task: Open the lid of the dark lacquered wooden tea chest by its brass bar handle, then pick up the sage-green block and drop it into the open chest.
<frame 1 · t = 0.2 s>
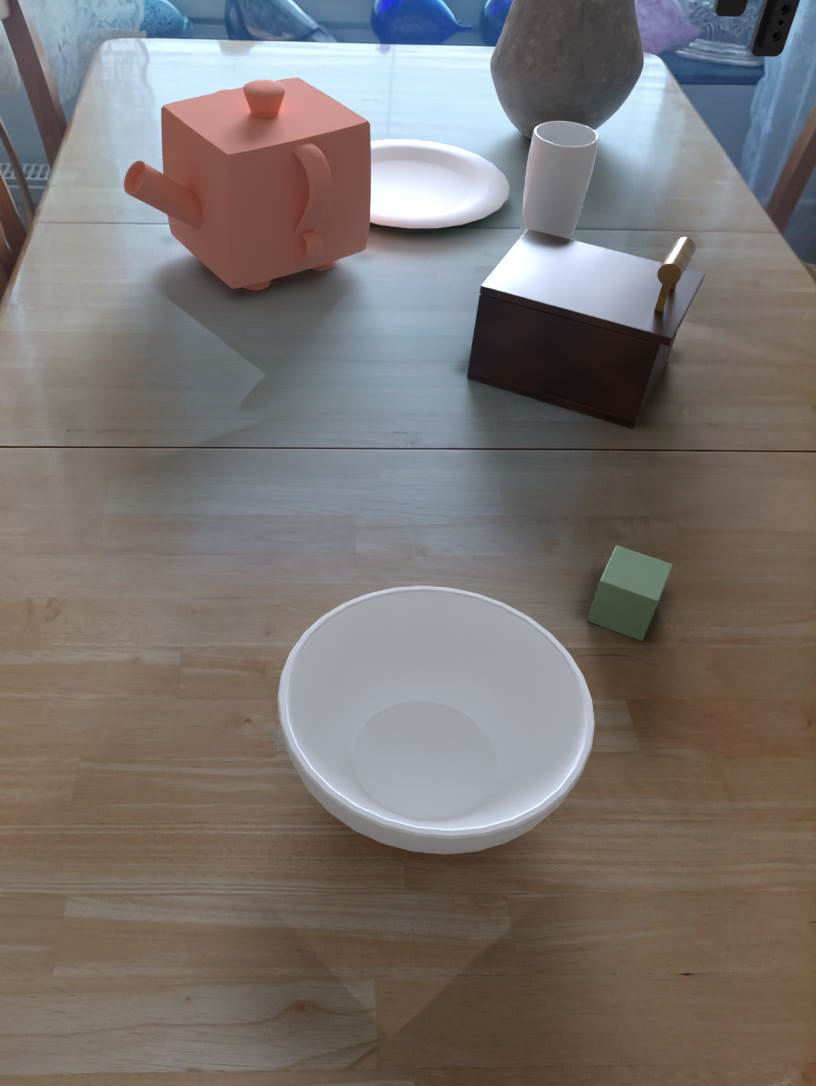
hand: (744, 33, 70), 31 cm above the table, tool pointing down, fingers open, 8 cm apart
tea chest: (568, 370, 97), on the table
plate: (408, 194, 122), on the table
vase: (552, 136, 135), on the table
teapot: (241, 265, 109), on the table
bowl: (424, 764, 65), on the table
drinking glass: (538, 274, 110), on the table
block: (621, 612, 75), on the table
tea lid: (599, 260, 88), point 12 cm above the table, hinge at 0.0°
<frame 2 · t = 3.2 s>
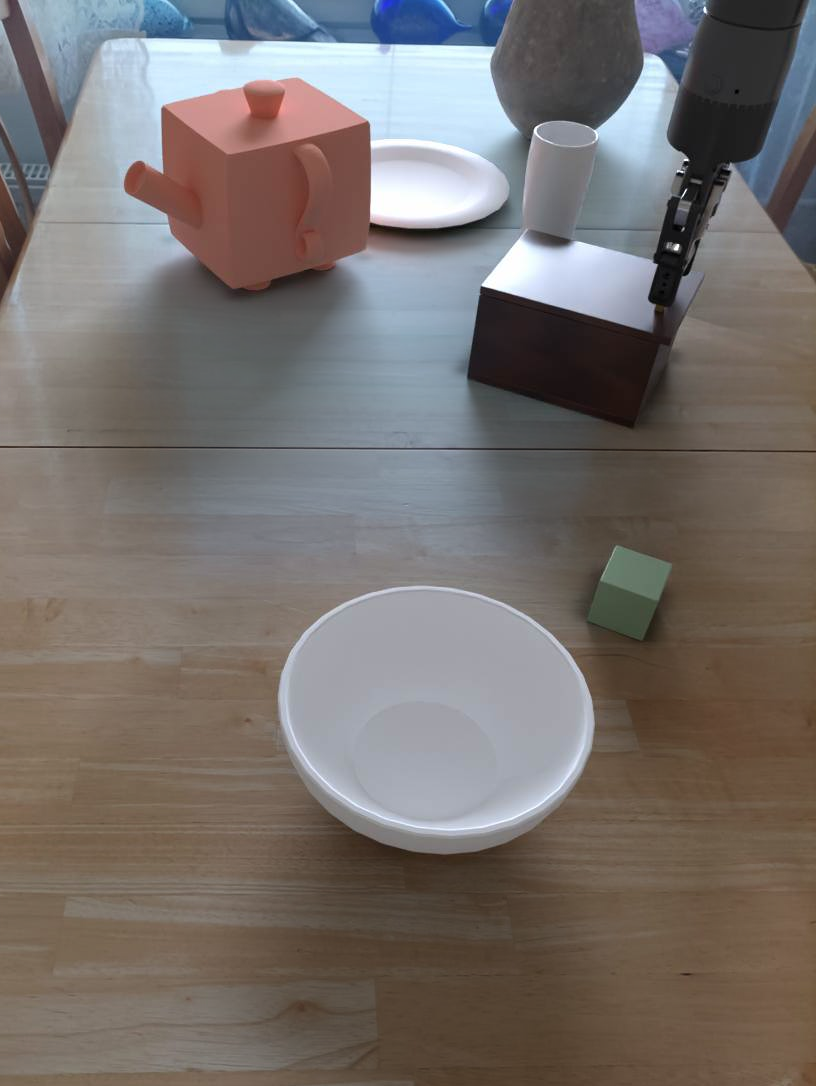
hand: (668, 286, 87), 11 cm above the table, tool pointing down, fingers closed on tea lid, 5 cm apart
tea lid: (599, 260, 88), point 12 cm above the table, hinge at 0.0°, touching gripper
everything else where it was.
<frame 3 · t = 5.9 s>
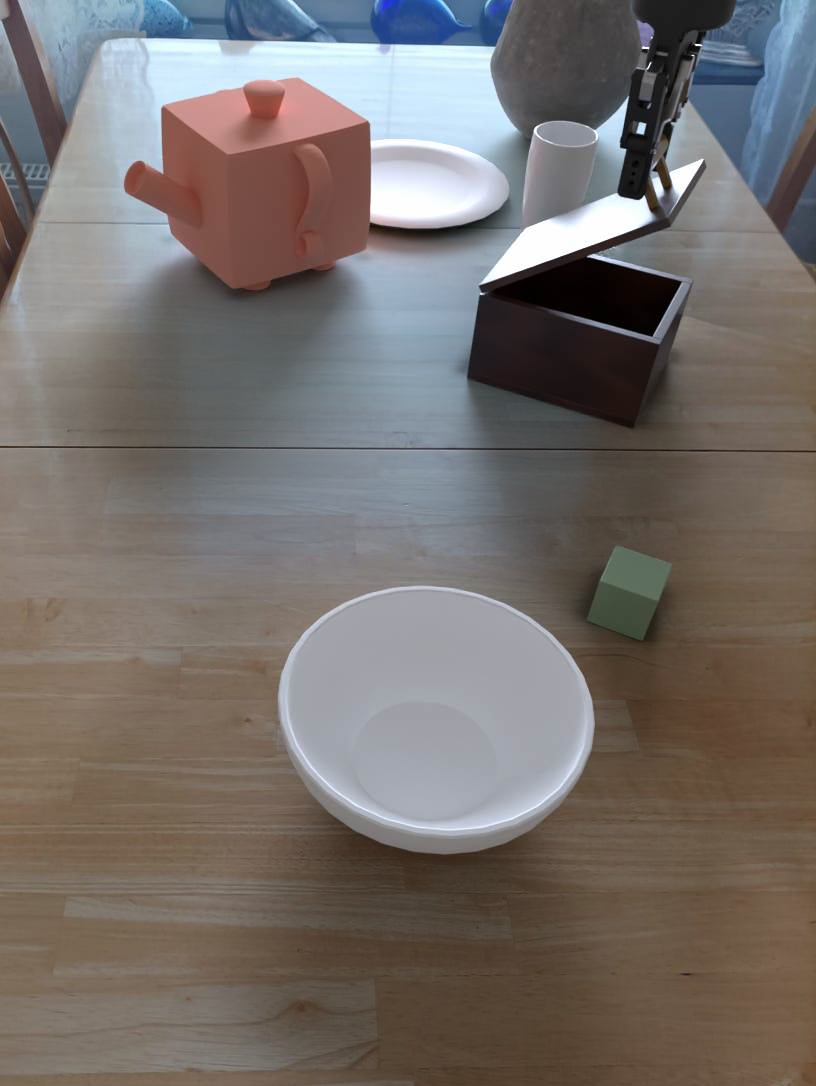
hand: (640, 181, 82), 19 cm above the table, tool pointing down, fingers closed on tea lid, 5 cm apart
tea lid: (581, 203, 85), point 16 cm above the table, hinge at 33.9°, touching gripper
everything else where it was.
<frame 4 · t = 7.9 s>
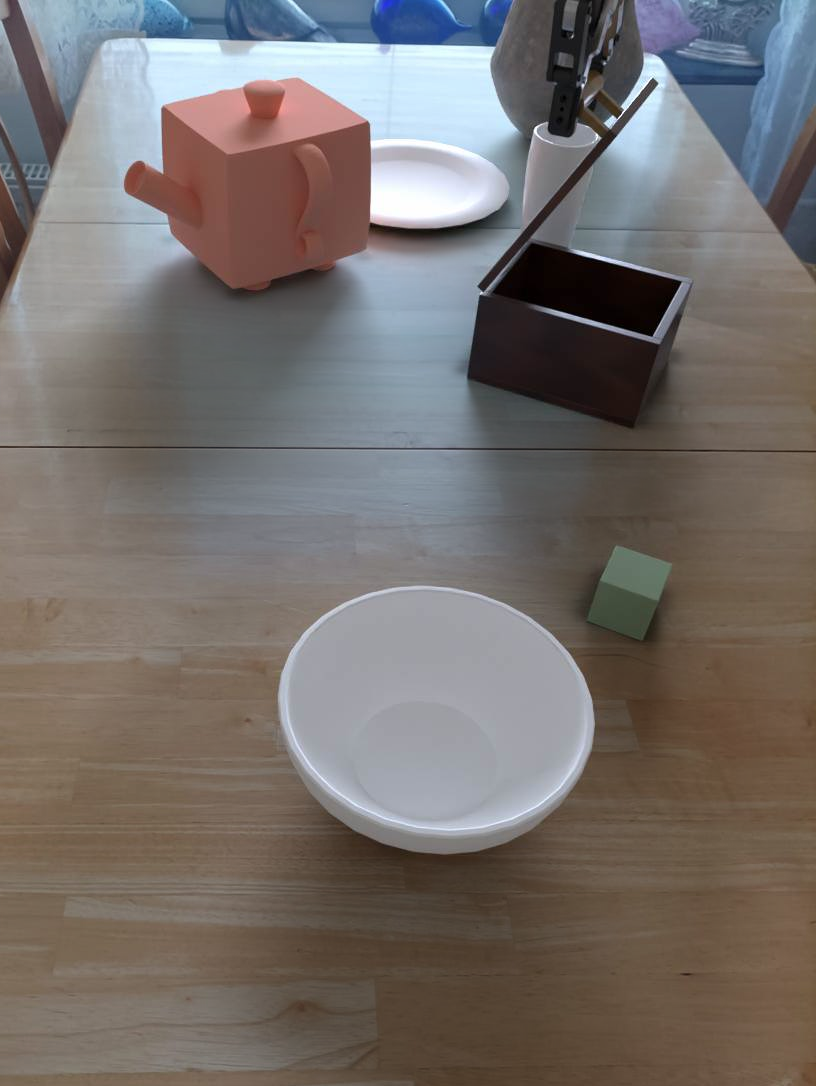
hand: (572, 120, 81), 23 cm above the table, tool pointing down, fingers closed on tea lid, 5 cm apart
tea lid: (545, 170, 85), point 18 cm above the table, hinge at 60.6°, touching gripper
everything else where it was.
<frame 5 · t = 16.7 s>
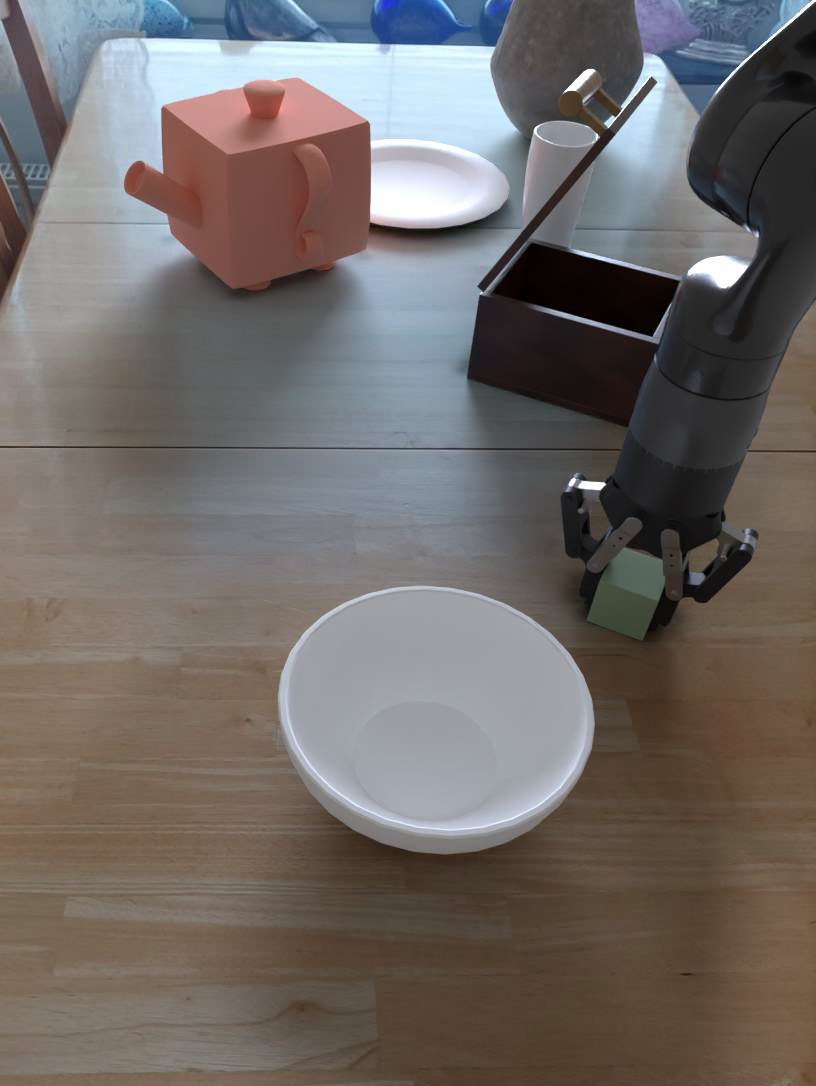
hand: (623, 610, 75), 0 cm above the table, tool pointing down, fingers closed on block, 4 cm apart
block: (621, 612, 75), on the table, touching gripper
tea lid: (545, 170, 85), point 18 cm above the table, hinge at 61.1°
everything else where it was.
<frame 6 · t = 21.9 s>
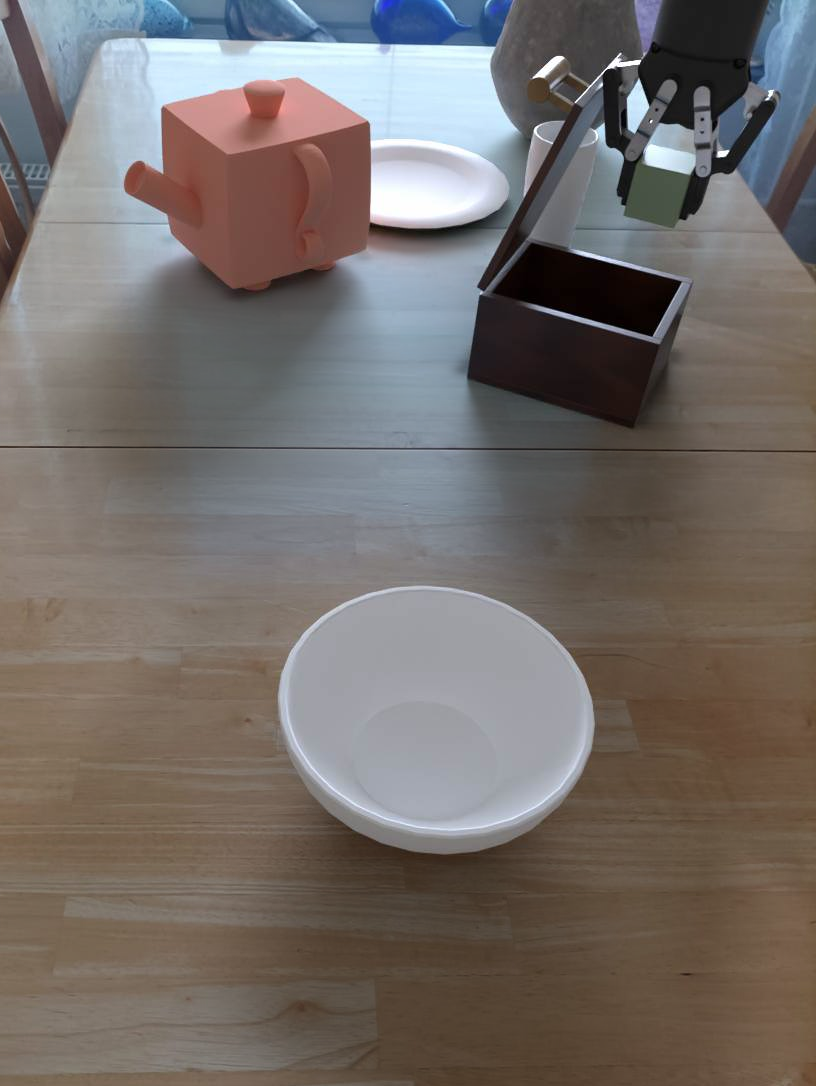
hand: (656, 208, 83), 17 cm above the table, tool pointing down, fingers closed on block, 4 cm apart
block: (654, 212, 83), point 17 cm above the table, touching gripper
tea lid: (528, 163, 85), point 18 cm above the table, hinge at 71.5°
everything else where it was.
when the fingers open (13 cm above the table, at t = 23.4 s): block drops 12 cm, resting on tea chest.
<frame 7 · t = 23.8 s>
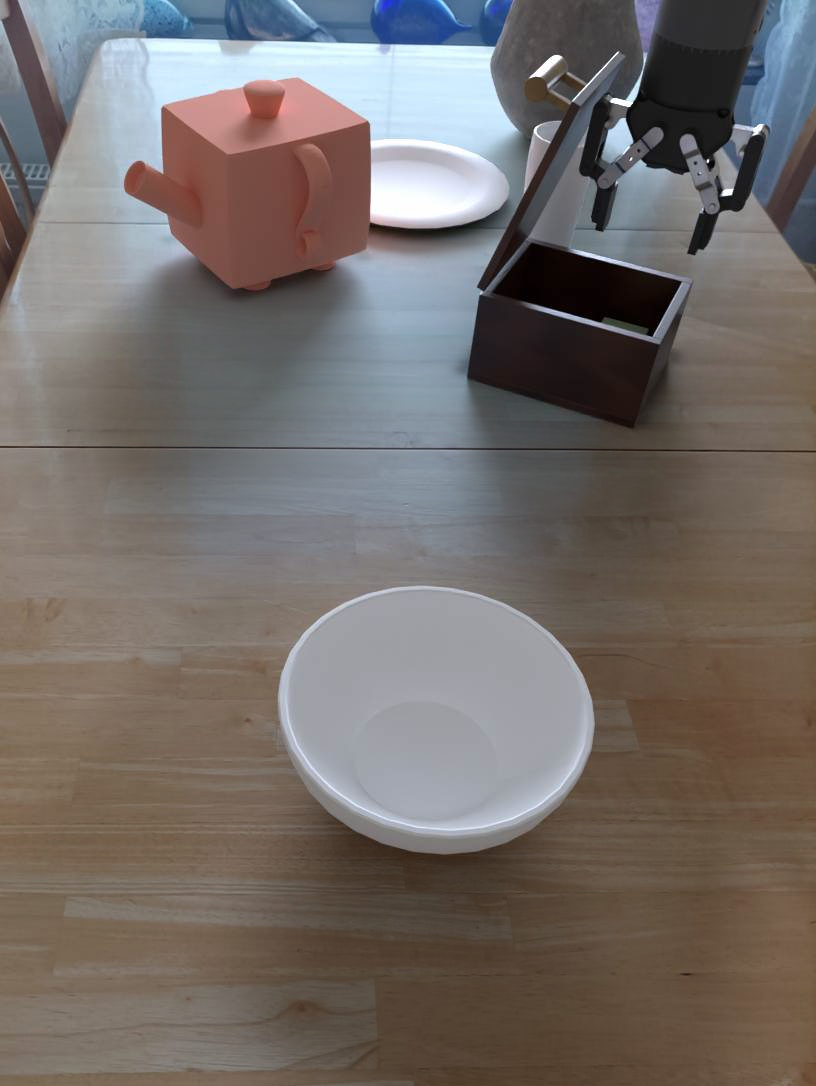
hand: (647, 239, 85), 14 cm above the table, tool pointing down, fingers open, 7 cm apart
block: (609, 373, 95), point 1 cm above the table, touching tea chest
tea lid: (526, 162, 85), point 18 cm above the table, hinge at 72.3°
everything else where it was.
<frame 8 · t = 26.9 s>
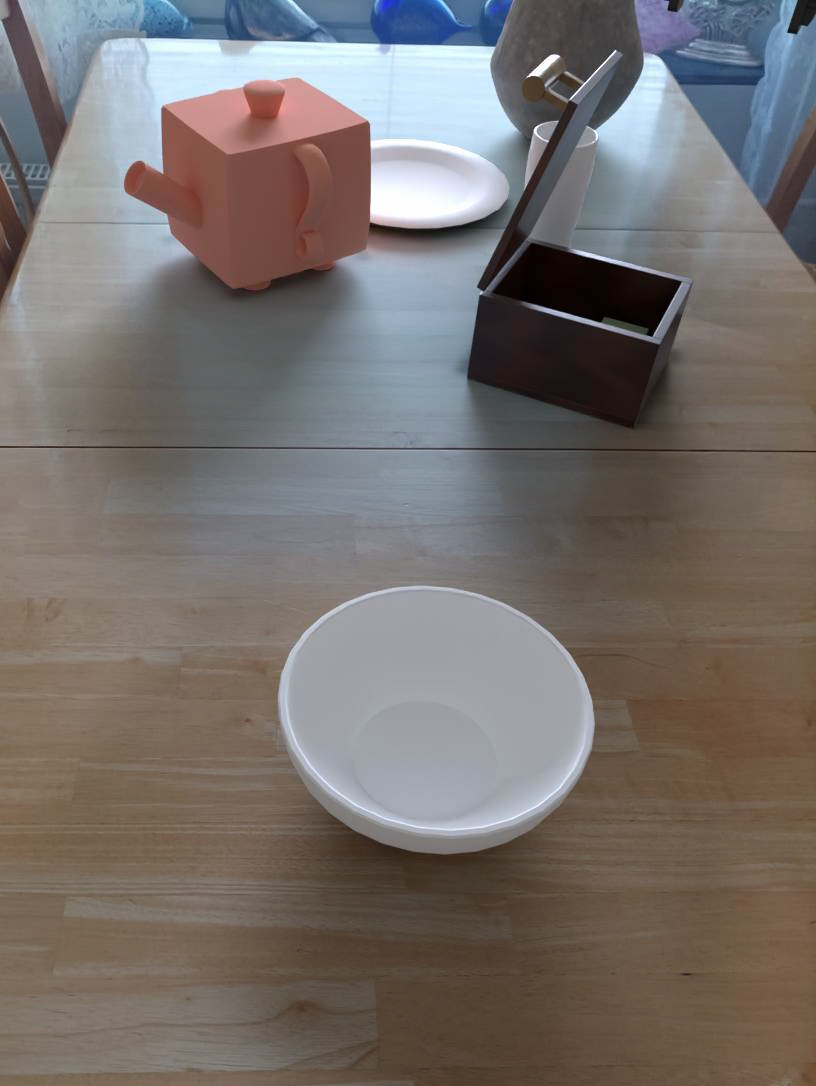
hand: (733, 20, 70), 32 cm above the table, tool pointing down, fingers open, 8 cm apart
tea lid: (525, 162, 85), point 18 cm above the table, hinge at 73.1°
everything else where it was.
at the end: tea lid at +73° (first picture: +0°); block inside the target area in the tea chest (4.0 cm from its centre), point 0.9 cm above the tea chest's base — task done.
